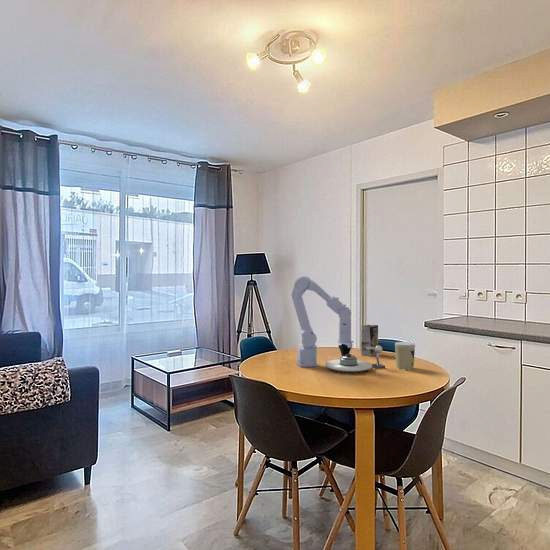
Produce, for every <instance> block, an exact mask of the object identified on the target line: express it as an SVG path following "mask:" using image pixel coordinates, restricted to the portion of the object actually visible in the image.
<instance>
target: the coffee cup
mask: <svg viewBox="0 0 550 550" xmlns="http://www.w3.org/2000/svg"><path fill="white" fill-rule="evenodd" d="M415 347H416V345H415V343H414V342H412V341H411V342H410V341H396V342H395V343H394V348H395V349H394V351H395V366H396V369H397V368H399V369H398V370H401V369H405V370H404V371H410V370H409V369H412V370H414V364H415V362H414V361H415V349H416V348H415Z"/></svg>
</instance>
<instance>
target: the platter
mask: <svg viewBox="0 0 550 550" xmlns="http://www.w3.org/2000/svg"><path fill="white" fill-rule="evenodd" d="M372 364H373V363H370V362H369V361H365V360H361V359H357V365H356V366H342V365H340V358H339V359H331V360H327V361H326V362H325V364H324V365H325V367H326V368H328V369H329V370H330V369H334V370H340V371H364V370H368V371H369V370H370V369H372V368H373V367H372Z"/></svg>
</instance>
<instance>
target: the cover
mask: <svg viewBox="0 0 550 550" xmlns="http://www.w3.org/2000/svg"><path fill="white" fill-rule="evenodd" d="M339 359H340V365H342V366H356V365H357V360H358V358H357V356H356V355H352V353H349V354H346V355H343V356H342V355H341V356H340V357H339Z"/></svg>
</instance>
